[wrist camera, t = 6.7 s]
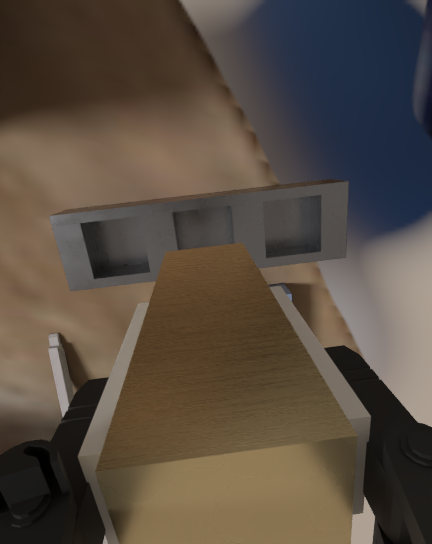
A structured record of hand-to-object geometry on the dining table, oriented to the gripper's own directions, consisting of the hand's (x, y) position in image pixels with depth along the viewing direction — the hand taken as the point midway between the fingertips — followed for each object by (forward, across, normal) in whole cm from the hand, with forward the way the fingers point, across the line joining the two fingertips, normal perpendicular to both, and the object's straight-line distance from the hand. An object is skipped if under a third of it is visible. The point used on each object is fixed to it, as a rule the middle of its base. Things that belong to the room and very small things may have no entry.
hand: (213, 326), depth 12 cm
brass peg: (+5, 0, 0) cm, 5 cm away
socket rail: (+20, 0, 0) cm, 20 cm away
